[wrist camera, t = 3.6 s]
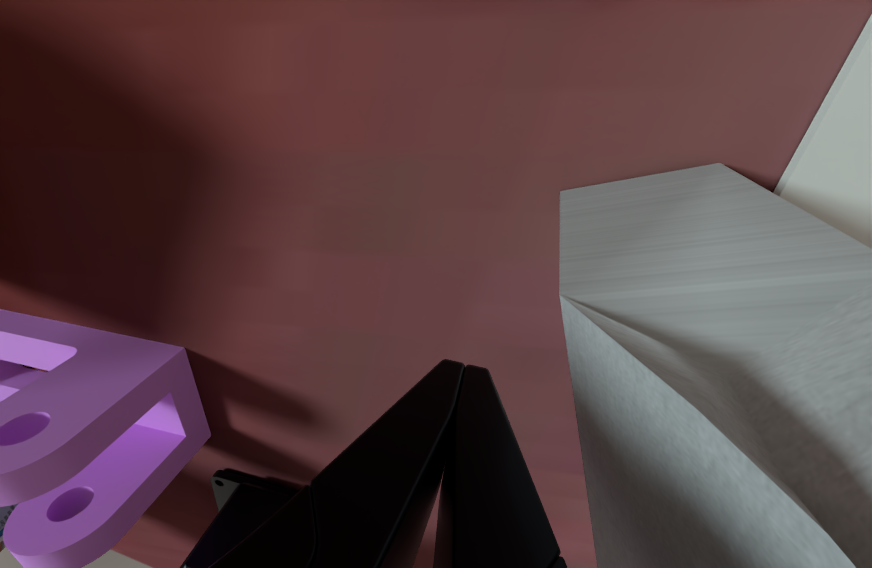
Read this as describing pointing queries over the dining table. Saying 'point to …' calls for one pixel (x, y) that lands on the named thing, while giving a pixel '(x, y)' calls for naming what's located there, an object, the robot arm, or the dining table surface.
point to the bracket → (87, 435)
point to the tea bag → (718, 374)
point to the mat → (838, 151)
